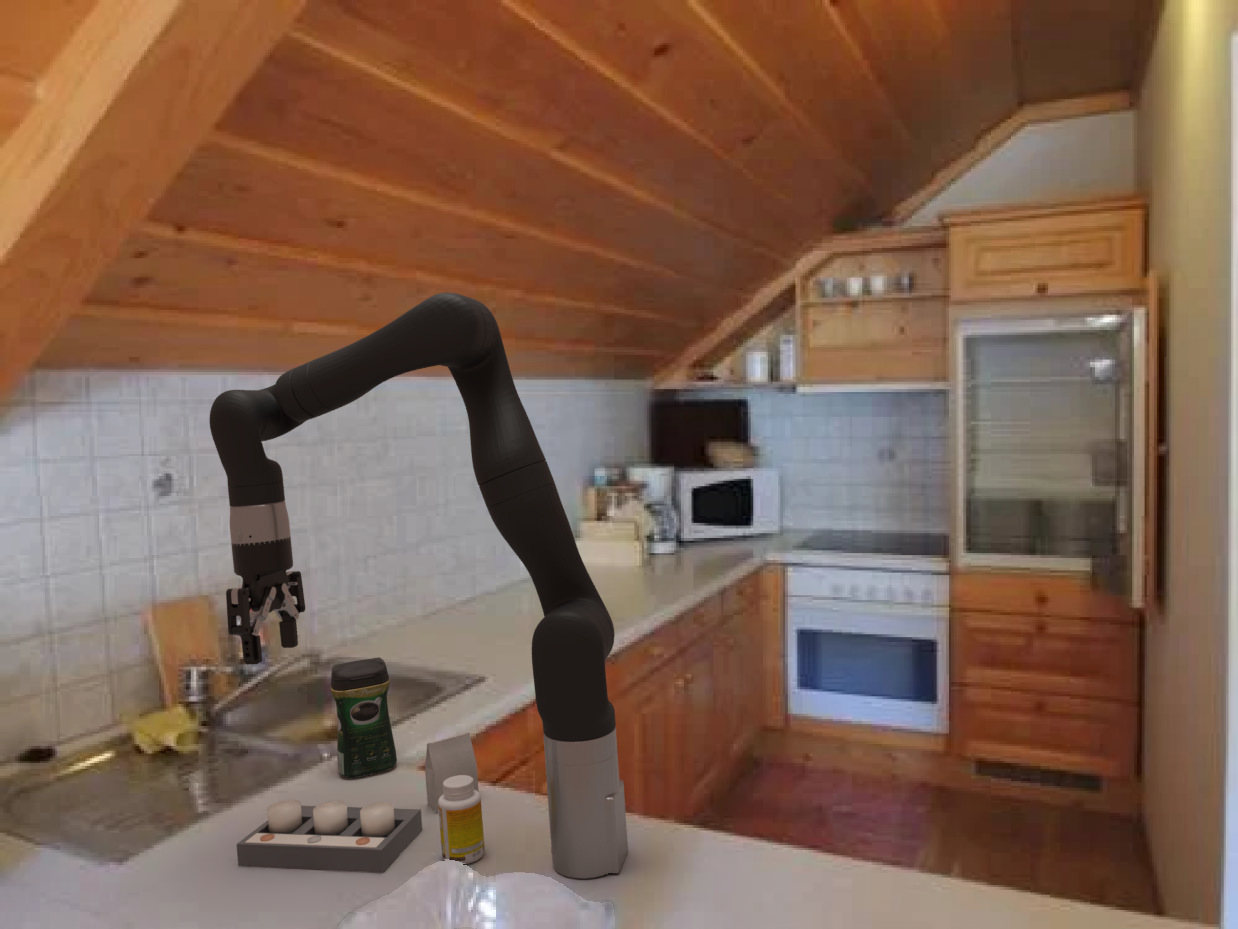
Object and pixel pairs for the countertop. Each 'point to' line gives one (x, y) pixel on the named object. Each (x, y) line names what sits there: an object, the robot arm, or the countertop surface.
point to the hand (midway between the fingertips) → (272, 655)
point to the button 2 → (377, 819)
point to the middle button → (330, 818)
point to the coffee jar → (363, 718)
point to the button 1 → (284, 816)
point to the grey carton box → (448, 765)
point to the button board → (330, 845)
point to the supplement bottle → (461, 820)
